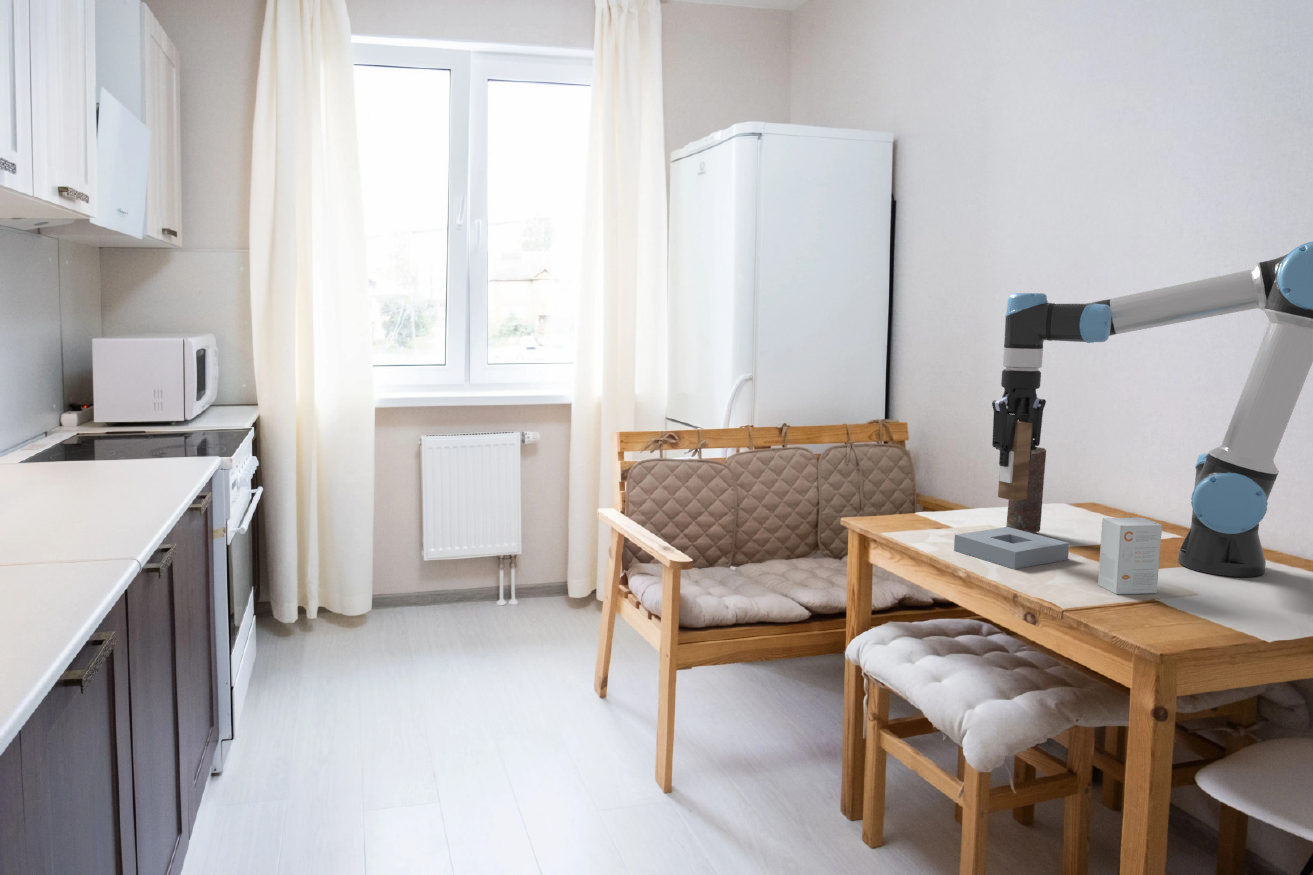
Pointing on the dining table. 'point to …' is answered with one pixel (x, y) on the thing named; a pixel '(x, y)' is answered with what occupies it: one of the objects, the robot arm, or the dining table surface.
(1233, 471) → the robot arm
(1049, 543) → the socket
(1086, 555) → the dining table surface
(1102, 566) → the small box
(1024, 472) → the peg
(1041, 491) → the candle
